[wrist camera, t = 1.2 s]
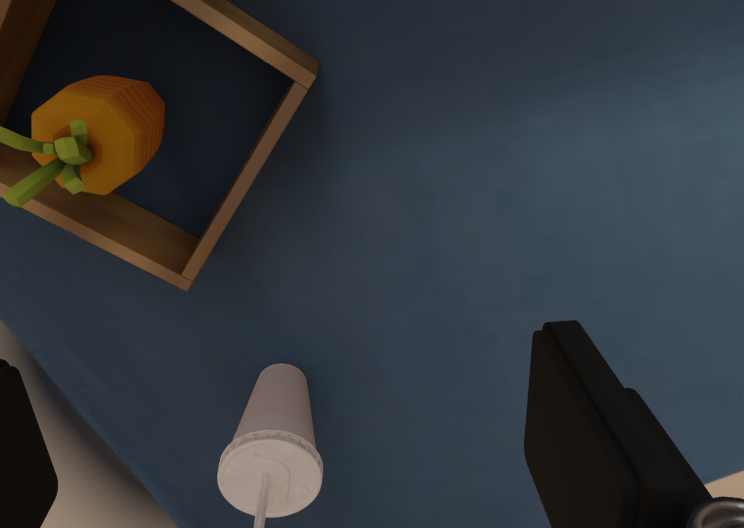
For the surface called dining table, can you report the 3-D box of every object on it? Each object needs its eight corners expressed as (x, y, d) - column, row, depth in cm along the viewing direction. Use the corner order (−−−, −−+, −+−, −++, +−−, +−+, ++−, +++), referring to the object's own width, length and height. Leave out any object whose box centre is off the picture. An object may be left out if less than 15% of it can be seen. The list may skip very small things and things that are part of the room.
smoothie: (305, 336, 44) (293, 482, 32) (337, 402, 47) (339, 561, 34) (223, 364, 45) (180, 518, 32) (260, 428, 48) (234, 593, 35)
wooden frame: (-17, 135, 37) (-71, 161, 32) (79, -98, 32) (33, -111, 27) (204, 253, 41) (186, 292, 36) (319, 61, 36) (316, 76, 31)
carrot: (123, 147, 38) (5, 246, 24) (93, 64, 36) (-55, 122, 22) (202, 131, 38) (128, 223, 24) (177, 47, 36) (79, 96, 22)
